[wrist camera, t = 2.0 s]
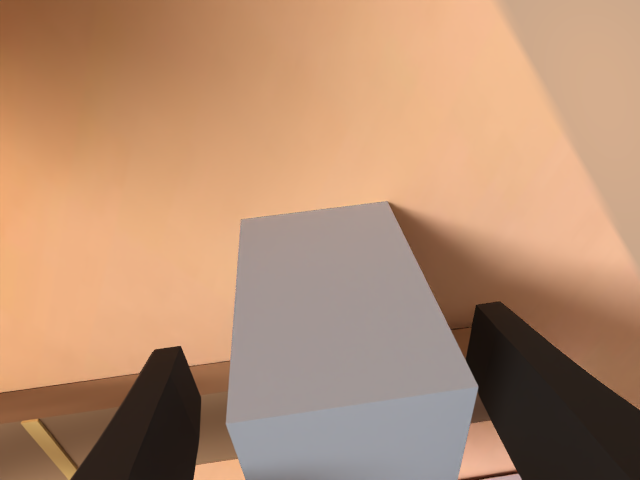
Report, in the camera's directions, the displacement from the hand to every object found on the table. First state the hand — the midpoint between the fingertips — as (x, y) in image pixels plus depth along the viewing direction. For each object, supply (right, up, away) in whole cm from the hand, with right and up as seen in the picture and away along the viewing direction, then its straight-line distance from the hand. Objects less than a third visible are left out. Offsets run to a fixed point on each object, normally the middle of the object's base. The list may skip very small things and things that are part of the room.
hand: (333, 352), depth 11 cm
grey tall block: (0, -1, +4) cm, 4 cm away
